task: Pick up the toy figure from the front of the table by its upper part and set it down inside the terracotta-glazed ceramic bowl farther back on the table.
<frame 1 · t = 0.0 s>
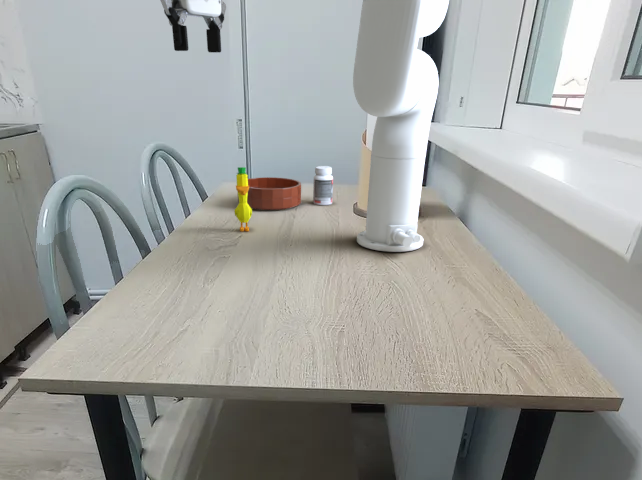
hand: (198, 51, 106), 31 cm above the table, tool pointing down, fingers open, 9 cm apart
pill bottle: (322, 204, 130), on the table
toy figure: (244, 231, 108), on the table
bowl: (269, 204, 129), on the table
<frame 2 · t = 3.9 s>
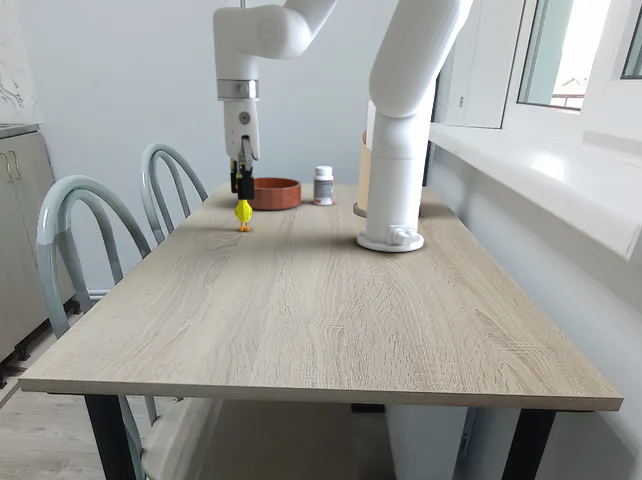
hand: (242, 195, 104), 7 cm above the table, tool pointing down, fingers closed on toy figure, 5 cm apart
toy figure: (244, 231, 108), on the table, touching gripper
everything else where it was.
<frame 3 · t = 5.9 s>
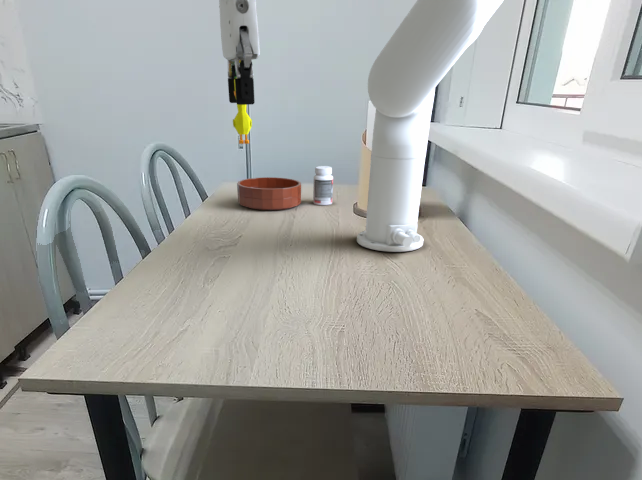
hand: (241, 102, 96), 23 cm above the table, tool pointing down, fingers closed on toy figure, 5 cm apart
toy figure: (244, 144, 100), point 16 cm above the table, touching gripper
everything else where it was.
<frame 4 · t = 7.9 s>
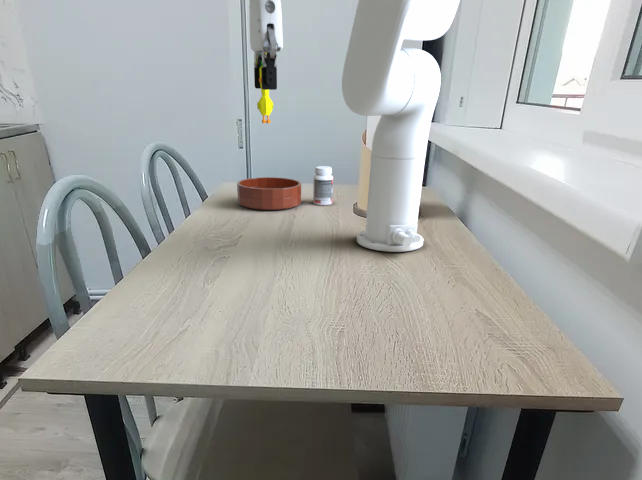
hand: (265, 88, 114), 25 cm above the table, tool pointing down, fingers closed on toy figure, 5 cm apart
toy figure: (266, 124, 118), point 18 cm above the table, touching gripper
everything else where it was.
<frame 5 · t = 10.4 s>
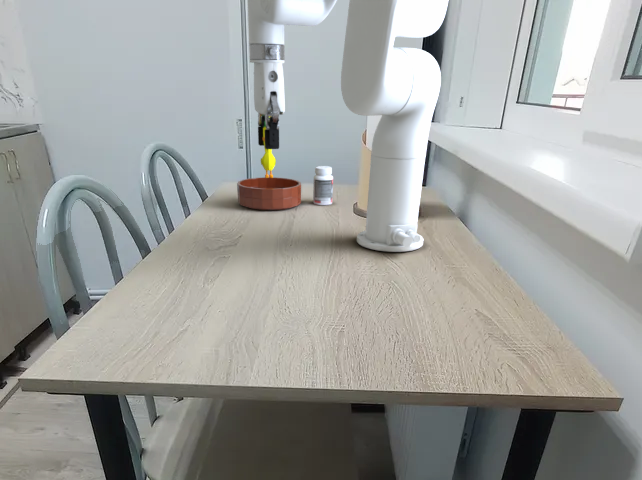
hand: (268, 146, 122), 13 cm above the table, tool pointing down, fingers closed on toy figure, 5 cm apart
toy figure: (268, 178, 125), point 6 cm above the table, touching gripper
everything else where it was.
when the fingers open (8 cm above the table, at t = 12.3 s): toy figure stays where it is, resting on bowl.
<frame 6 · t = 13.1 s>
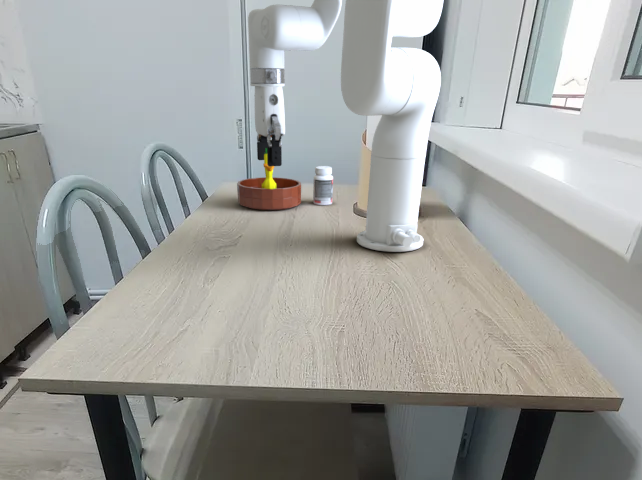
hand: (269, 162, 124), 9 cm above the table, tool pointing down, fingers open, 9 cm apart
toy figure: (269, 202, 128), resting on bowl
everything else where it was.
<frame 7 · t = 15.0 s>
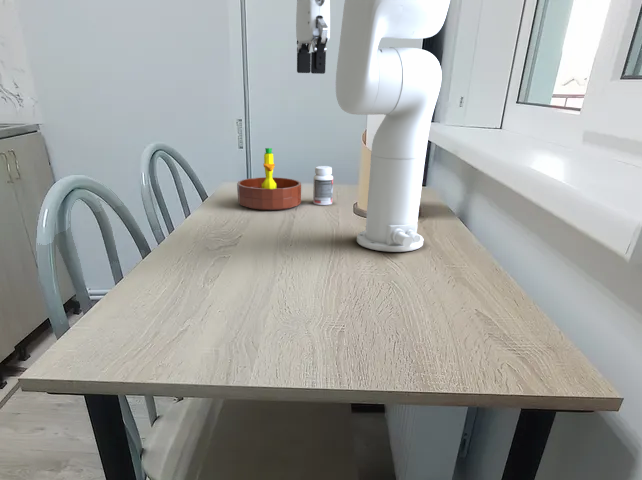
hand: (310, 73, 120), 28 cm above the table, tool pointing down, fingers open, 9 cm apart
nothing on the table moved.
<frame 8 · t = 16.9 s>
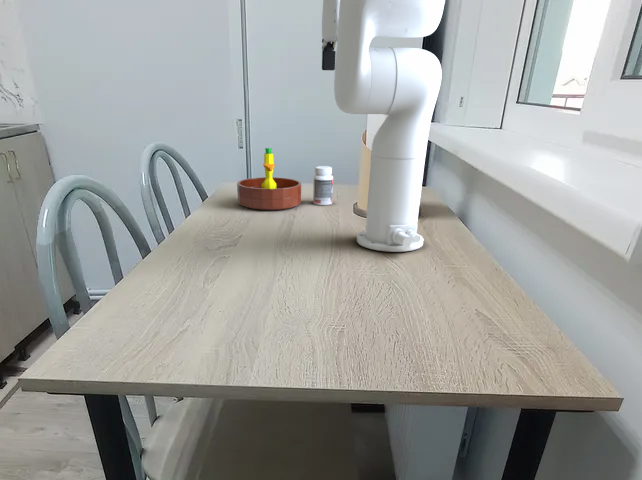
hand: (335, 70, 124), 28 cm above the table, tool pointing down, fingers open, 9 cm apart
nothing on the table moved.
at the end: toy figure inside the target area in the bowl (0.1 cm from its centre), point 0.4 cm above the bowl's base; the gripper is holding nothing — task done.
